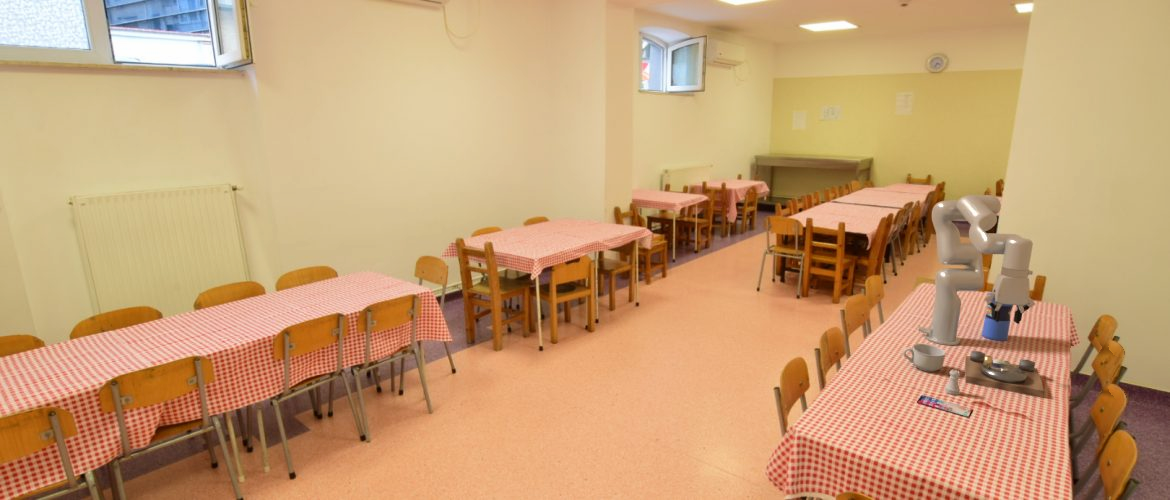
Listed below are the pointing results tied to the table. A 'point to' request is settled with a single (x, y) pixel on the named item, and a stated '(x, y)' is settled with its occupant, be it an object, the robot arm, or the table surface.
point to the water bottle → (997, 323)
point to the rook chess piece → (953, 383)
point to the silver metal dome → (1002, 372)
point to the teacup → (926, 357)
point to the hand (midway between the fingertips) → (1006, 321)
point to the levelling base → (976, 377)
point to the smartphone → (945, 406)
